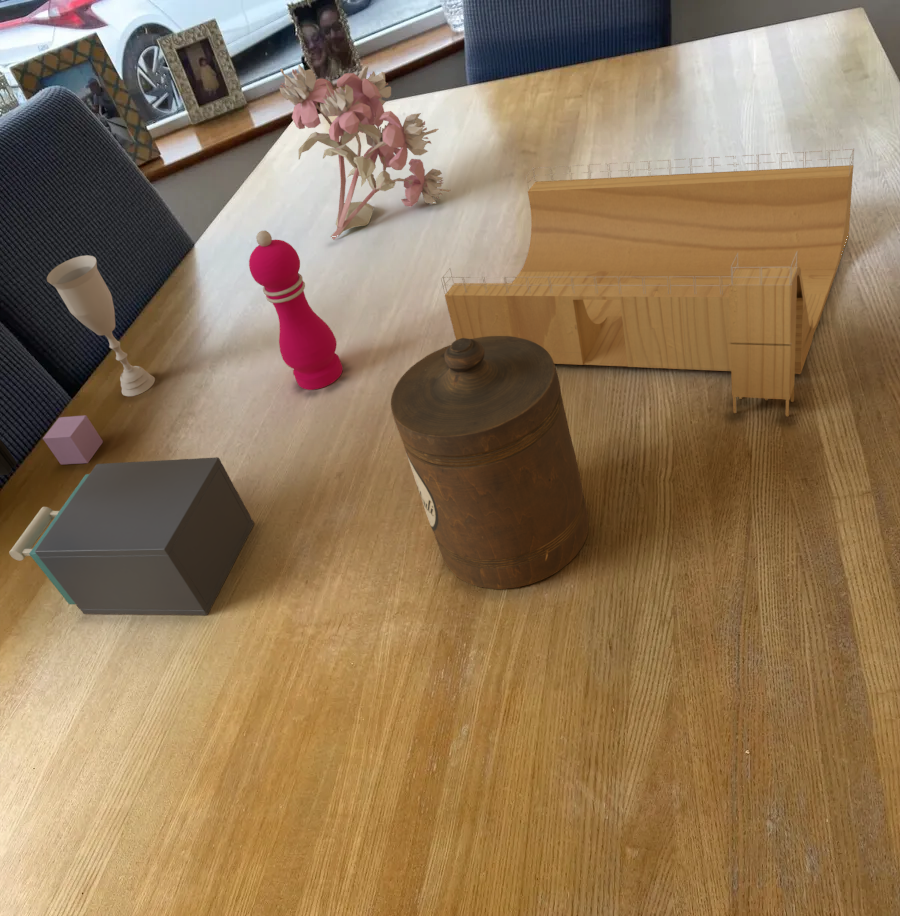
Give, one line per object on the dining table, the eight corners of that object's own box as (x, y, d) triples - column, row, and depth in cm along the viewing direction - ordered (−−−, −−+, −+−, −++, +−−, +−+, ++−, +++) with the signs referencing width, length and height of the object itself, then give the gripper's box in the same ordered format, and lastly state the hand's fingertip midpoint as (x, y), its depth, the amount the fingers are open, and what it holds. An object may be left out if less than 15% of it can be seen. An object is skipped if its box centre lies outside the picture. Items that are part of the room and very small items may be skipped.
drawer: (22, 604, 104) (-20, 554, 98) (76, 526, 112) (40, 476, 106) (182, 605, 97) (146, 551, 91) (227, 522, 105) (197, 468, 99)
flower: (389, 257, 138) (398, 62, 126) (272, 237, 148) (270, 54, 136) (460, 248, 153) (474, 73, 142) (350, 230, 163) (354, 66, 152)
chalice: (166, 384, 132) (102, 266, 119) (122, 407, 131) (52, 290, 118) (152, 364, 137) (89, 249, 124) (110, 386, 136) (41, 272, 123)
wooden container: (471, 481, 100) (415, 297, 85) (606, 489, 94) (572, 292, 79) (419, 582, 92) (346, 397, 76) (564, 599, 86) (517, 401, 70)
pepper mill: (286, 377, 125) (224, 235, 111) (334, 353, 126) (278, 209, 112) (305, 399, 120) (242, 254, 106) (354, 374, 121) (299, 227, 107)
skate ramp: (849, 244, 115) (858, 105, 104) (789, 416, 95) (792, 267, 84) (546, 249, 133) (526, 131, 122) (440, 395, 113) (405, 269, 102)
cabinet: (83, 614, 101) (34, 551, 95) (138, 526, 110) (96, 463, 103) (207, 615, 96) (164, 549, 90) (254, 523, 105) (218, 456, 98)
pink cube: (60, 464, 124) (42, 438, 121) (76, 443, 127) (59, 417, 124) (87, 463, 123) (70, 436, 120) (103, 441, 125) (86, 415, 122)
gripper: (-99, 274, 90) (11, 426, 103) (-203, 365, 81) (-67, 521, 94) (-39, 264, 88) (66, 422, 100) (-139, 357, 78) (-8, 518, 91)
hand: (2, 469), depth 97 cm, fingers closed
